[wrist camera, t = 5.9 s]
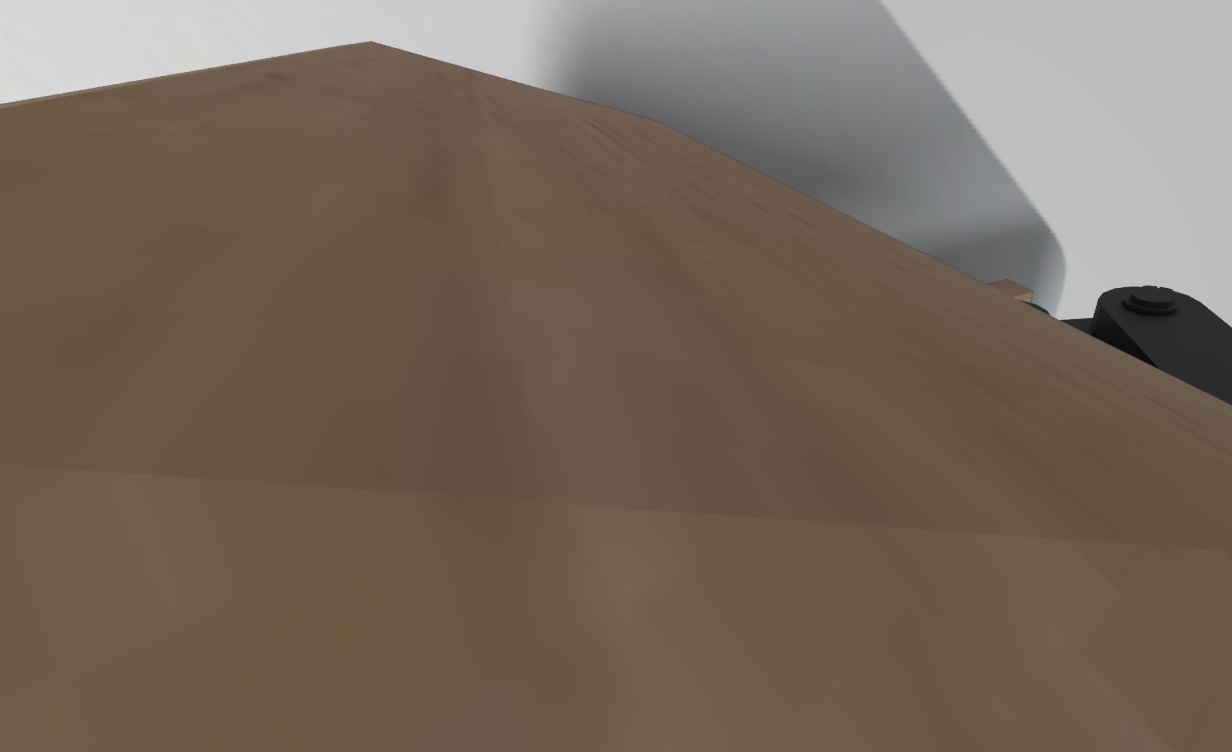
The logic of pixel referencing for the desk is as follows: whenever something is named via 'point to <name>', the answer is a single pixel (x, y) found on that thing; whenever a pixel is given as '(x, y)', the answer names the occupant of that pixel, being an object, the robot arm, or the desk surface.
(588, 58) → the desk surface
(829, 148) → the desk surface
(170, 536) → the wooden block
